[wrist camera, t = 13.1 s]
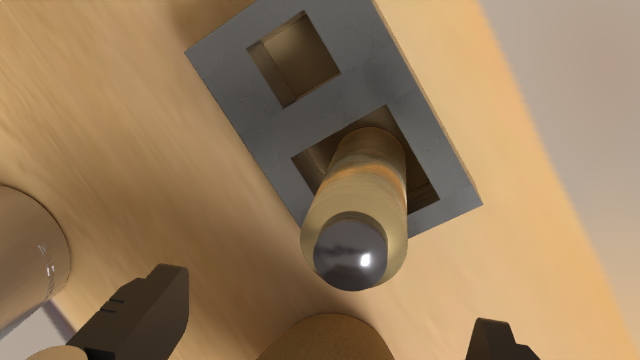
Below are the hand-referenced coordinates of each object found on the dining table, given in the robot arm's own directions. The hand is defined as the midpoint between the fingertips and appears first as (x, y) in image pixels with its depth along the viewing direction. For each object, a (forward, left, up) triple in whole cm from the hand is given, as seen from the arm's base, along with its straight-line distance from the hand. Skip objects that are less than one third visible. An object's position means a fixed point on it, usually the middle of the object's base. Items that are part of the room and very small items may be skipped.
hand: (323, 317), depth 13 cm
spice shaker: (0, 0, -15) cm, 15 cm away
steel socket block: (-2, +2, -15) cm, 15 cm away
